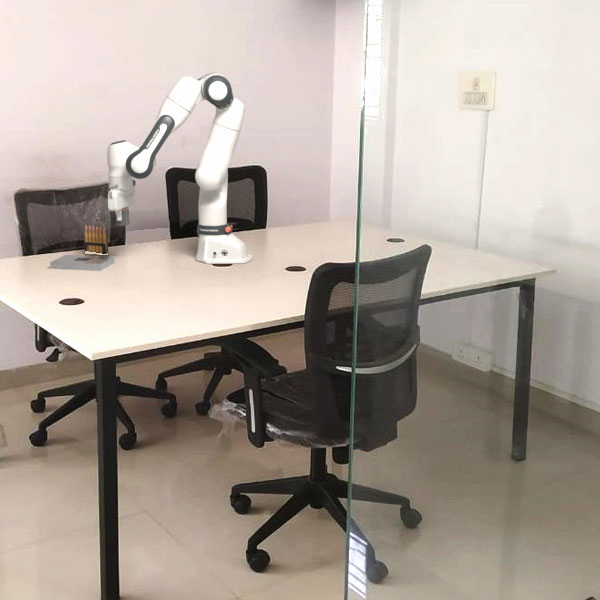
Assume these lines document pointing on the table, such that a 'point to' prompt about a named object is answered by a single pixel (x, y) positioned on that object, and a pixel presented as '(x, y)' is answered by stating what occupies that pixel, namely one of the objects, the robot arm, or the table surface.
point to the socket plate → (82, 262)
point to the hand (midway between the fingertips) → (122, 219)
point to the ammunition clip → (96, 240)
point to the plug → (125, 218)
